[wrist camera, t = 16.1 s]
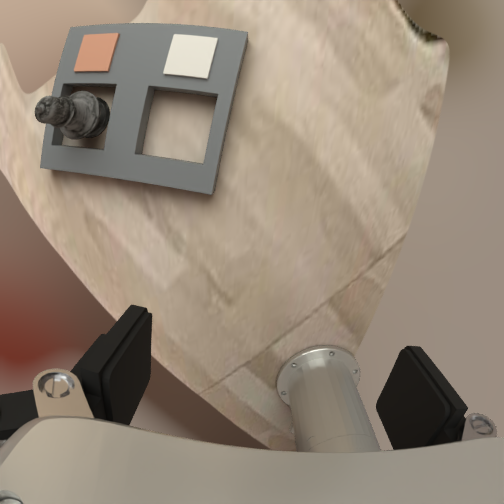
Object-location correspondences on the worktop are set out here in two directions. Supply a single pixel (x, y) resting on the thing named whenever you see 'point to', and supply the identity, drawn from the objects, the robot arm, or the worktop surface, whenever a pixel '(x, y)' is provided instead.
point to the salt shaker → (74, 114)
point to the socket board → (146, 96)
